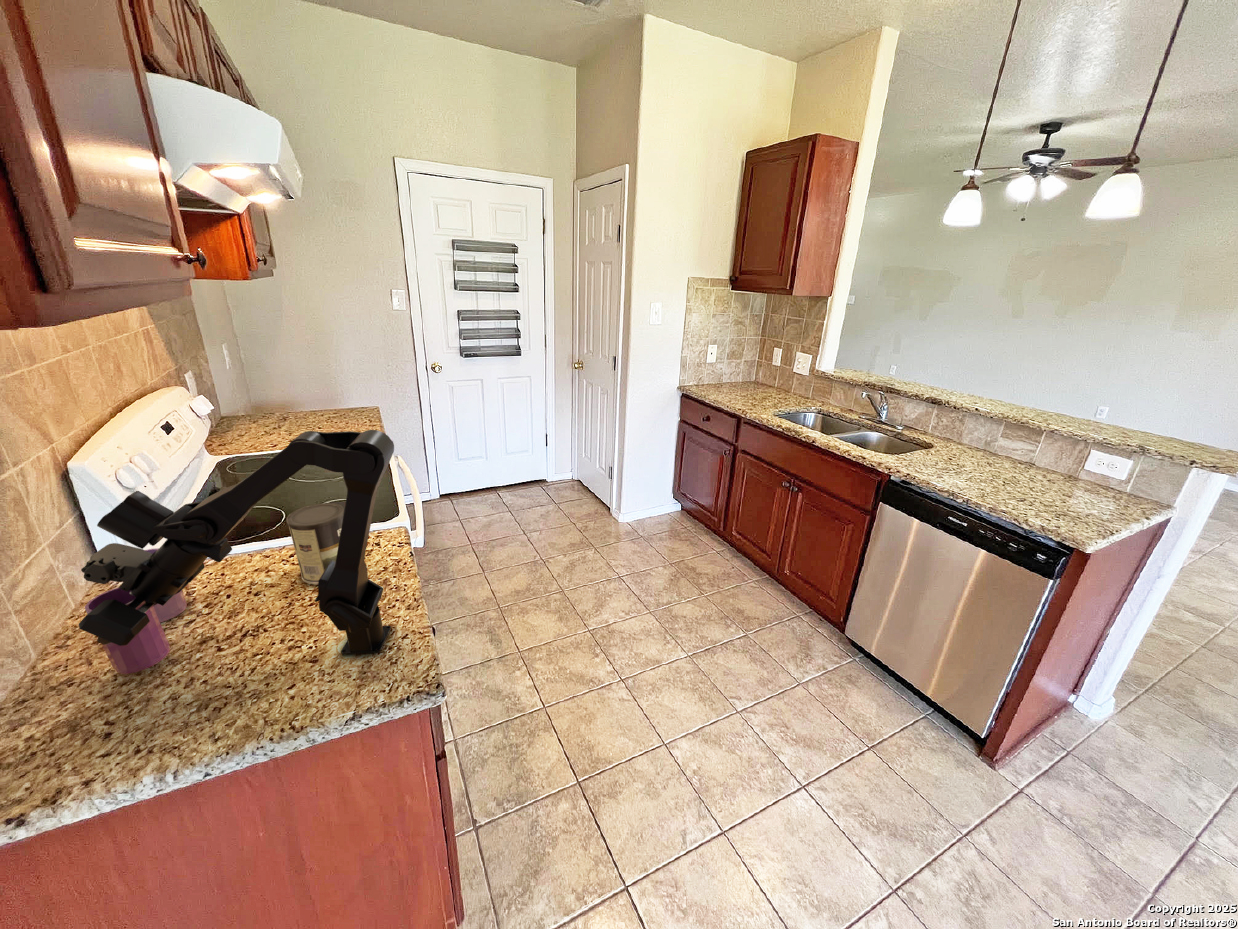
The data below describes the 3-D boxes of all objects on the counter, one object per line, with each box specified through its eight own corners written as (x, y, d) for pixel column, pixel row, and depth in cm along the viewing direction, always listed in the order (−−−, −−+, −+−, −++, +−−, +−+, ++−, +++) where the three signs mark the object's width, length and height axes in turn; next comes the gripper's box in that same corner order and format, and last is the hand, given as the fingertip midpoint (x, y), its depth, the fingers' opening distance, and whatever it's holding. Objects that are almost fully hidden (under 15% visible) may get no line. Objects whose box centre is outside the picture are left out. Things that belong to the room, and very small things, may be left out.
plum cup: (163, 665, 79) (136, 604, 74) (106, 679, 76) (76, 617, 71) (176, 638, 84) (152, 580, 80) (124, 650, 82) (96, 591, 77)
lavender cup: (170, 623, 90) (148, 568, 86) (129, 625, 89) (105, 570, 85) (195, 600, 96) (176, 547, 92) (157, 601, 96) (136, 549, 91)
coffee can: (357, 554, 113) (346, 499, 108) (352, 579, 104) (340, 521, 99) (305, 562, 109) (291, 506, 104) (296, 589, 100) (280, 529, 95)
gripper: (161, 503, 81) (107, 566, 83) (67, 567, 64) (2, 644, 66) (228, 540, 85) (175, 599, 87) (157, 609, 68) (94, 680, 70)
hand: (118, 626), depth 77 cm, fingers closed on plum cup, 7 cm apart
